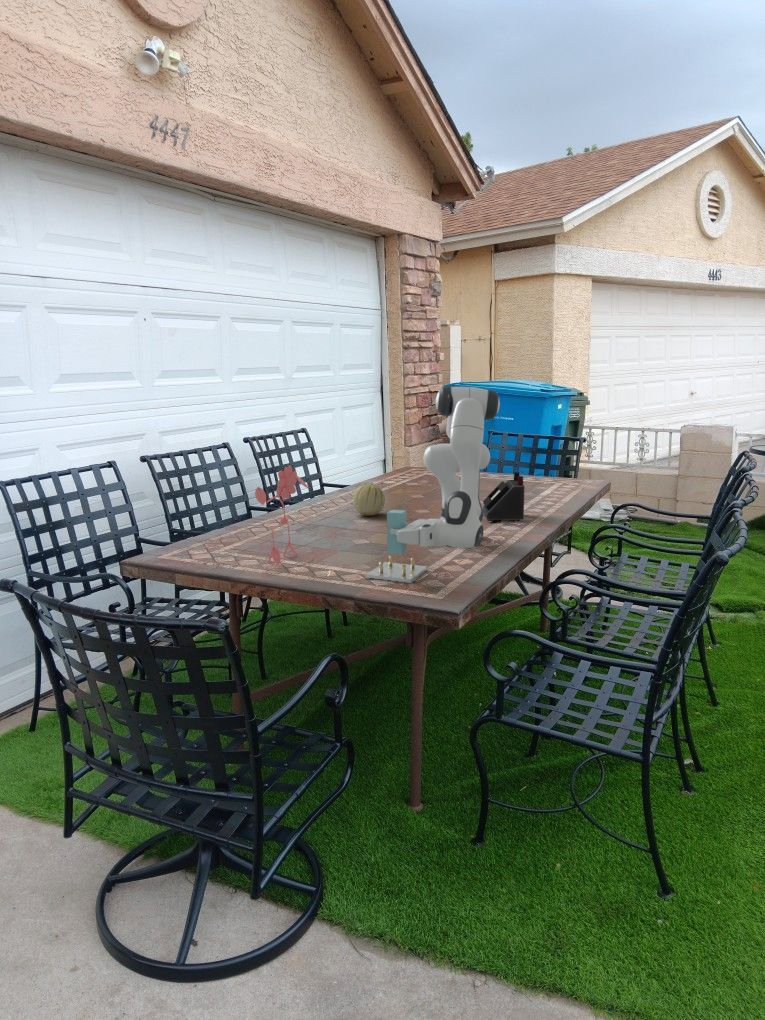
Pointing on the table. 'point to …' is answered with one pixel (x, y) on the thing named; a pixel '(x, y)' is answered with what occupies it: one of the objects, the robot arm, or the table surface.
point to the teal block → (397, 521)
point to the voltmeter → (506, 501)
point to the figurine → (286, 489)
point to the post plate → (397, 571)
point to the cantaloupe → (368, 499)
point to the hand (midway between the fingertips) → (394, 528)
